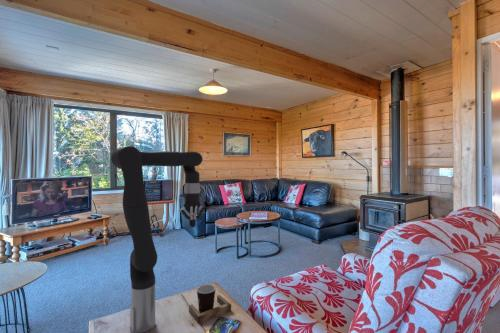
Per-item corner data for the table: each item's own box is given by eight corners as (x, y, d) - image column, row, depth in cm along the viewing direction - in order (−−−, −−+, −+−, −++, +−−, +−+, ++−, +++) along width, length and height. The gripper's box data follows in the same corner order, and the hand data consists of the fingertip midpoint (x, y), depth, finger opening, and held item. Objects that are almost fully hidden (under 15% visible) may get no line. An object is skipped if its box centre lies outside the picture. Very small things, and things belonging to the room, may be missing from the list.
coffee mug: (213, 316, 110) (213, 293, 110) (194, 315, 110) (194, 293, 111) (218, 302, 122) (218, 281, 122) (201, 301, 122) (201, 281, 122)
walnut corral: (198, 323, 105) (198, 316, 105) (189, 311, 114) (189, 305, 114) (231, 311, 114) (231, 304, 114) (219, 300, 123) (219, 294, 123)
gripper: (201, 191, 130) (201, 224, 129) (176, 192, 122) (176, 227, 122) (207, 191, 124) (207, 226, 123) (182, 193, 116) (182, 230, 116)
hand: (192, 227), depth 122 cm, fingers closed
